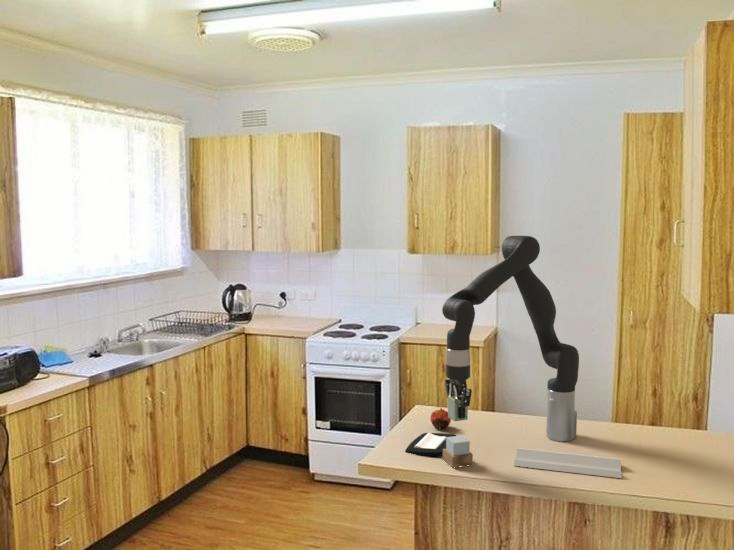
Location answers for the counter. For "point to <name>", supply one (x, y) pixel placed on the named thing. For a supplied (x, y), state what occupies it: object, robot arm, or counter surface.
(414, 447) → the black flat rectangular tray
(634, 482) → the counter surface
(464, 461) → the base block
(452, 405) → the tea tin
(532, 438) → the counter surface
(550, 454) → the crown molding
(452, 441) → the mid block
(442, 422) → the pomegranate
